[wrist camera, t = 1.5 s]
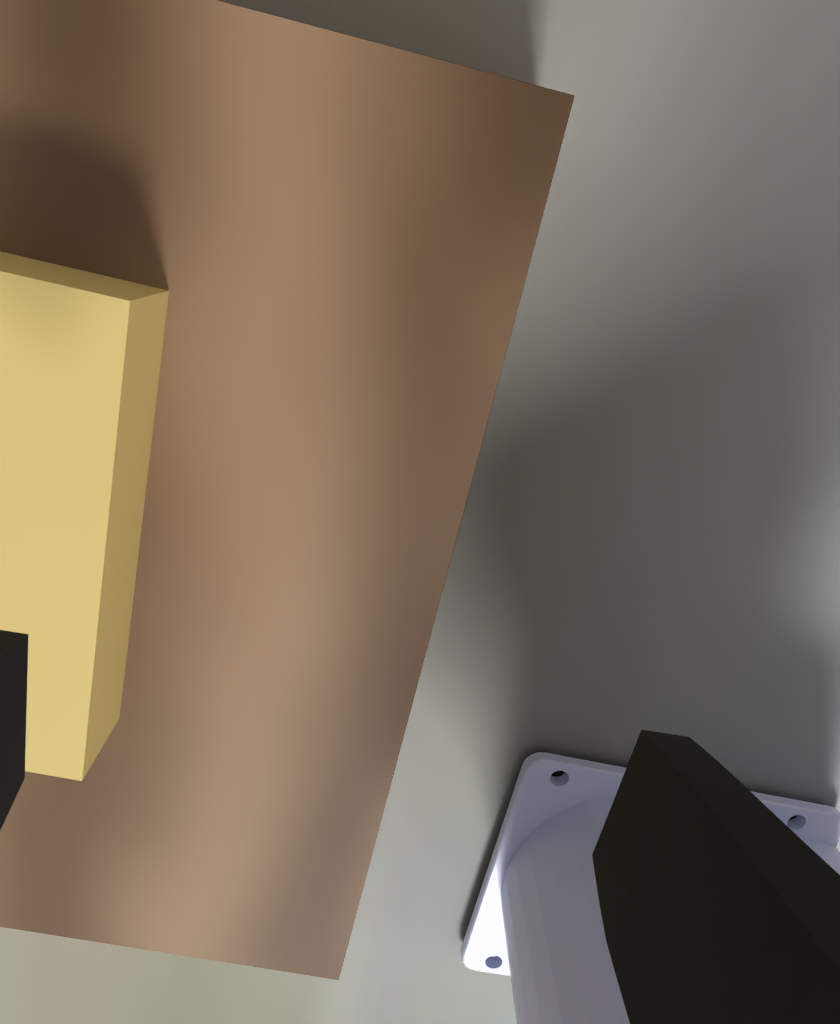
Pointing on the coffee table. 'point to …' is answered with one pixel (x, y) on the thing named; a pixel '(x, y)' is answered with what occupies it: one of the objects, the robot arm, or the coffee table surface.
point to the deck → (266, 440)
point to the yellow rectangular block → (73, 491)
